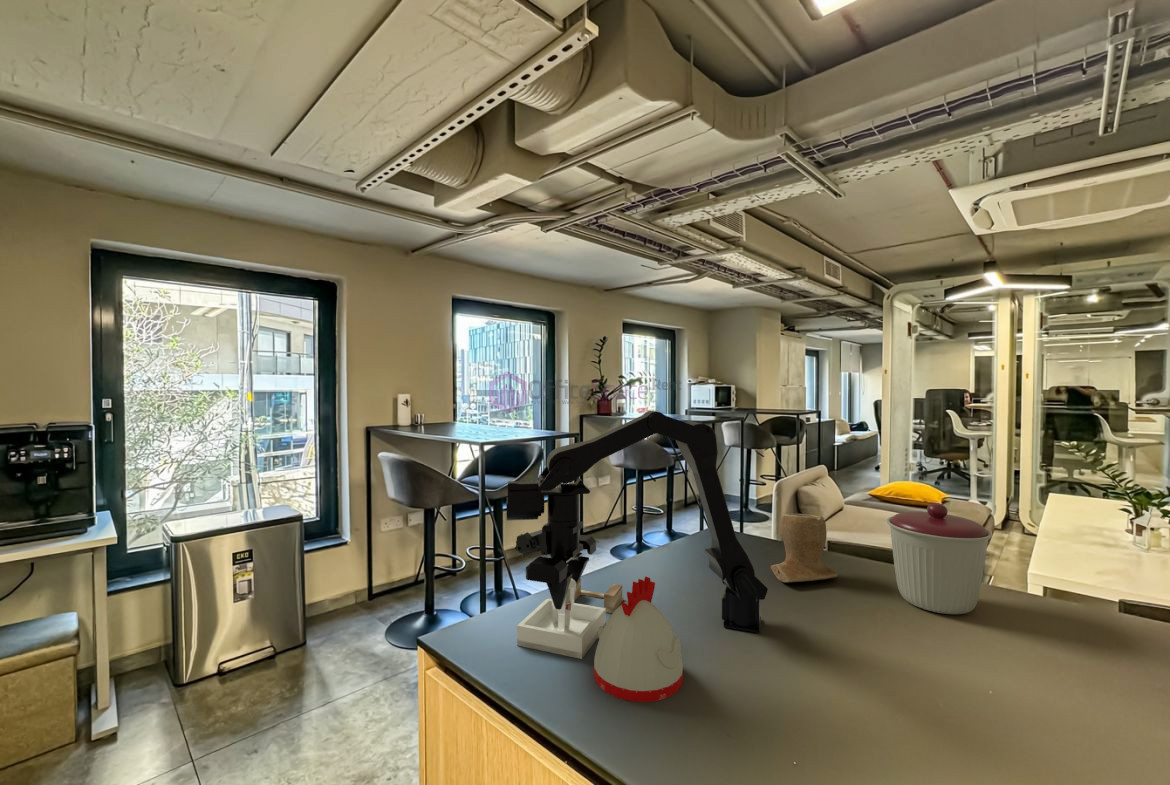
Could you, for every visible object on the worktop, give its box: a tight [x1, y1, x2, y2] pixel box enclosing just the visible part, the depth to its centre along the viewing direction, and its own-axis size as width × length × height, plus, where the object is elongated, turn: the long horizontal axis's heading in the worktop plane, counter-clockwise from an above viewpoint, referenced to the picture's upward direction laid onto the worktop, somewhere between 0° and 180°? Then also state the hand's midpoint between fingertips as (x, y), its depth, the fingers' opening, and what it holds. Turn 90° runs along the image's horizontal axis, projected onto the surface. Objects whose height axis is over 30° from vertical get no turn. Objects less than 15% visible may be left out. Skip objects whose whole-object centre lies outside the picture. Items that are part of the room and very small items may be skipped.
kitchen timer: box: [593, 576, 684, 703], centre depth 81 cm, size 14×14×15 cm
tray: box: [516, 598, 607, 660], centre depth 93 cm, size 12×12×4 cm
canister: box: [886, 502, 993, 615], centre depth 107 cm, size 18×18×21 cm
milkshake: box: [552, 578, 576, 633], centre depth 92 cm, size 4×5×10 cm
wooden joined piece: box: [574, 578, 625, 614], centre depth 107 cm, size 11×7×4 cm, turn 69°
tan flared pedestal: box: [770, 513, 839, 583], centre depth 122 cm, size 15×12×15 cm
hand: (563, 603), depth 93 cm, fingers closed on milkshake, 4 cm apart
